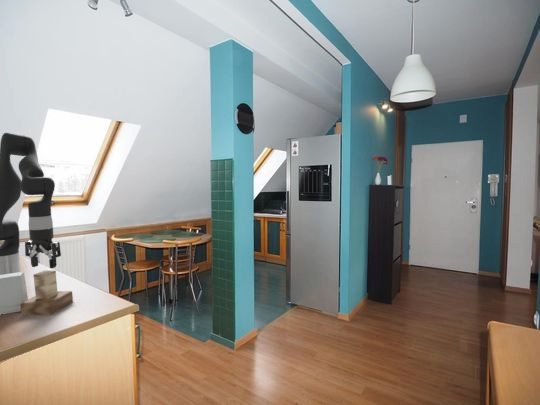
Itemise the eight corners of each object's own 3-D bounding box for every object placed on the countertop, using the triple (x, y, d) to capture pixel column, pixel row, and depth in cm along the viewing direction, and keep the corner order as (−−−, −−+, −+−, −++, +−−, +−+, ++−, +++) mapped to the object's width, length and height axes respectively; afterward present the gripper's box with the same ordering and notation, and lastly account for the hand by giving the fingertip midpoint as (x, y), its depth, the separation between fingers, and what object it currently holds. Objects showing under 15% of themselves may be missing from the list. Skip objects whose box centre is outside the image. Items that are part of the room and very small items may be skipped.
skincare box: (29, 305, 123) (25, 270, 122) (24, 311, 118) (21, 275, 116) (2, 309, 119) (-1, 274, 118) (-3, 316, 114) (-7, 278, 113)
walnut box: (21, 316, 114) (20, 303, 114) (45, 302, 126) (44, 291, 126) (52, 315, 114) (51, 302, 114) (73, 302, 126) (72, 290, 126)
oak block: (35, 298, 118) (33, 274, 117) (46, 293, 123) (44, 270, 122) (47, 299, 117) (44, 275, 116) (57, 294, 122) (55, 270, 121)
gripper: (16, 228, 115) (19, 269, 116) (47, 229, 112) (50, 271, 114) (35, 225, 122) (38, 263, 124) (64, 226, 119) (67, 265, 121)
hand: (44, 267), depth 119 cm, fingers open, 8 cm apart
